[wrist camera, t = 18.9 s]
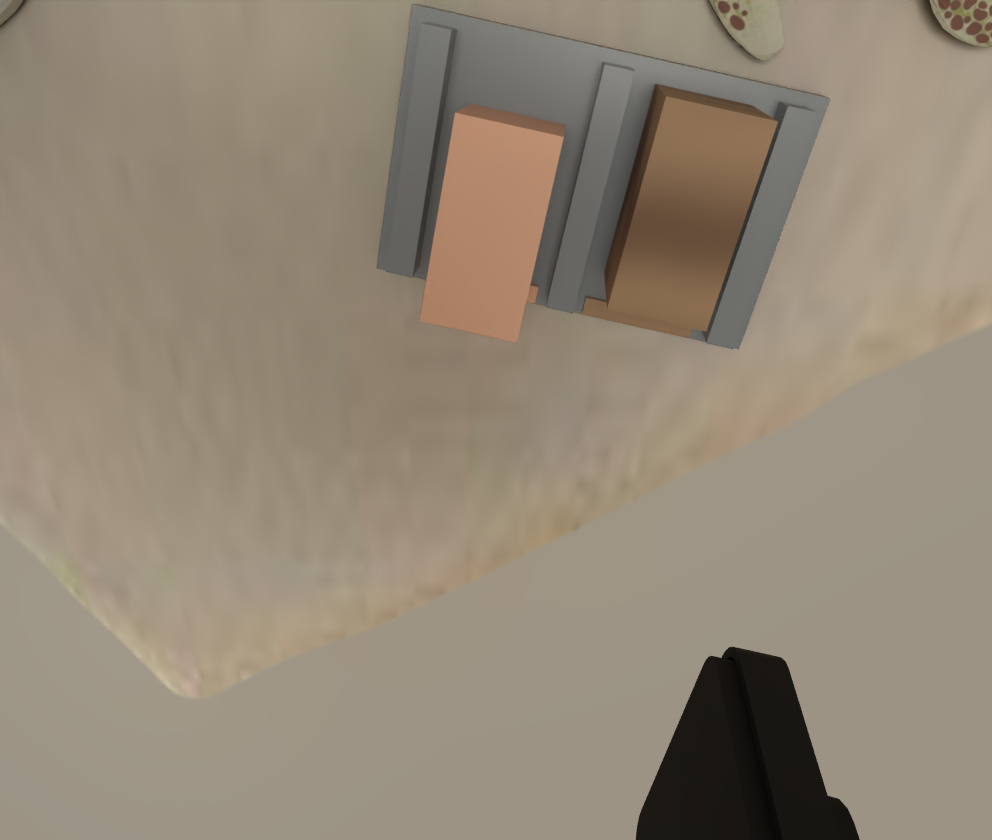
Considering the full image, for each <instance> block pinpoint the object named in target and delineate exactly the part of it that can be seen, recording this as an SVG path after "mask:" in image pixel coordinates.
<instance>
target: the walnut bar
mask: <svg viewBox="0 0 992 840" xmlns="http://www.w3.org/2000/svg"><path fill="white" fill-rule="evenodd" d="M777 123H778V121H777V120H775V119H773V118H772V117H770V116H769V115H767V114H765V113H764V112H762V111H761V110H759V109H757V108H756V107H754V106H753V105H749V104H744V103H740V102H735V101H731V100H727V99H722V98H718V97H713V96H709V95H704V94H700V93H695V92H691V91H687V90H682V89H678V88H673V87H669V86H664V85H660V84H656V83H655V86H654V90H653V94H652V97H651V101H650V105H649V108H648V112H647V116H646V120H645V123H644V127H643V131H642V134H641V138H640V142H639V145H638V149H637V153H636V157H635V160H634V164H633V168H632V171H631V175H630V179H629V183H628V186H627V190H626V194H625V197H624V201H623V205H622V208H621V212H620V216H619V220H618V223H617V227H616V231H615V234H614V238H613V242H612V245H611V249H610V253H609V257H608V260H607V264H606V268H605V271H604V276H605V289H606V303H607V310H612V311H616V312H621V313H625V314H630V315H634V316H638V317H643V318H647V319H652V320H656V321H661V322H665V323H670V324H674V325H679V326H683V327H688V328H692V329H697V330H701V331H705V332H706V331H707V328H708V325H709V322H710V319H711V316H712V313H713V311H714V308H715V305H716V302H717V299H718V296H719V293H720V290H721V287H722V284H723V281H724V278H725V275H726V273H727V270H728V267H729V264H730V261H731V258H732V255H733V252H734V249H735V246H736V243H737V240H738V237H739V235H740V232H741V229H742V226H743V223H744V220H745V217H746V214H747V211H748V208H749V205H750V202H751V199H752V197H753V194H754V191H755V188H756V185H757V182H758V179H759V176H760V173H761V170H762V167H763V164H764V161H765V159H766V156H767V153H768V150H769V147H770V144H771V141H772V138H773V135H774V132H775V129H776V126H777Z"/></svg>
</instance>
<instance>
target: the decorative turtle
mask: <svg viewBox="0 0 992 840" xmlns="http://www.w3.org/2000/svg"><path fill="white" fill-rule="evenodd" d="M709 1H710V3H711V5H712V7H713V9H714V10H715V12H716V14H717V15H718V17H719V19H720V21H721V22H722V24H723V25H724V26H725V28H726V29H727V31H728V32H729V33H730V35H731V36H732V37H733V38H734V39H735V40H736V41H737V42H738V43H739V44H740V45H741V46H743V48H744V49H745V50H747V51H748V52H749V53H750V54H752V55H753V56H755V57H756V58H758V59H760V60H769V59H770V58H771V57H773V56H774V55H775V54H777V53H778V52H779V51H781V50H782V49H783V46H784V38H783V30H782V24H781V18H780V12H779V7H778V1H777V0H709ZM930 3H931V8H932V11H933V13H934V14H935V16H936V18H937V19H938V21H939V23H940V24H941V26H942V27H943V29H945V30H946V31H947V32H948V33H950V34H951V35H952V36H954V37H955V38H957V39H959V40H961V41H963V42H965V43H968V44H971V45H974V46H981V47H989V46H992V0H930Z"/></svg>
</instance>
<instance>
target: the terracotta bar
mask: <svg viewBox="0 0 992 840" xmlns="http://www.w3.org/2000/svg"><path fill="white" fill-rule="evenodd" d="M564 131H565V124H560V123H556V122H551V121H547V120H542V119H538V118H533V117H529V116H525V115H520V114H516V113H511V112H507V111H502V110H498V109H493V108H489V107H485V106H480V105H476V104H469V105H467V106H466V107H464V108H462V109H461V110H459V111H457V112H455V116H454V122H453V128H452V134H451V140H450V146H449V151H448V157H447V163H446V169H445V175H444V181H443V186H442V192H441V198H440V204H439V210H438V216H437V221H436V227H435V233H434V239H433V245H432V251H431V256H430V262H429V268H428V274H427V280H426V286H425V291H424V297H423V303H422V309H421V315H420V320H419V321H422V322H426V323H431V324H435V325H440V326H444V327H449V328H453V329H458V330H462V331H467V332H471V333H476V334H480V335H485V336H489V337H494V338H498V339H502V340H507V341H511V342H516V343H517V341H518V336H519V332H520V328H521V323H522V319H523V314H524V310H525V306H526V301H527V297H528V292H529V288H530V284H531V279H532V275H533V270H534V266H535V262H536V257H537V253H538V248H539V244H540V240H541V235H542V231H543V226H544V222H545V218H546V213H547V209H548V204H549V200H550V196H551V191H552V187H553V183H554V178H555V174H556V169H557V165H558V161H559V156H560V152H561V147H562V143H563V139H564Z"/></svg>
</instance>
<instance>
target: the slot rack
mask: <svg viewBox="0 0 992 840" xmlns="http://www.w3.org/2000/svg"><path fill="white" fill-rule="evenodd" d="M655 83H656V84H660V85H664V86H669V87H673V88H678V89H682V90H687V91H691V92H695V93H700V94H704V95H709V96H713V97H718V98H722V99H727V100H731V101H735V102H740V103H744V104H749V105H753V106H754V107H756V108H757V109H759V110H761V111H762V112H764V113H765V114H767V115H769V116H770V117H772V118H773V119H775V120H777V121H778V123H777V126H776V129H775V132H774V135H773V138H772V141H771V144H770V147H769V150H768V153H767V156H766V159H765V161H764V164H763V167H762V170H761V173H760V176H759V179H758V182H757V185H756V188H755V191H754V194H753V197H752V199H751V202H750V205H749V208H748V211H747V214H746V217H745V220H744V223H743V226H742V229H741V232H740V235H739V237H738V240H737V243H736V246H735V249H734V252H733V255H732V258H731V261H730V264H729V267H728V270H727V273H726V275H725V278H724V281H723V284H722V287H721V290H720V293H719V296H718V299H717V302H716V305H715V308H714V311H713V313H712V316H711V319H710V322H709V325H708V328H707V331H706V332H705V331H701V330H697V329H692V328H688V327H683V326H679V325H674V324H670V323H665V322H661V321H656V320H652V319H647V318H643V317H638V316H634V315H630V314H625V313H621V312H616V311H612V310H607V303H606V289H605V276H604V271H605V268H606V264H607V260H608V257H609V253H610V249H611V245H612V242H613V238H614V234H615V231H616V227H617V223H618V220H619V216H620V212H621V208H622V205H623V201H624V197H625V194H626V190H627V186H628V183H629V179H630V175H631V171H632V168H633V164H634V160H635V157H636V153H637V149H638V145H639V142H640V138H641V134H642V131H643V127H644V123H645V120H646V116H647V112H648V108H649V105H650V101H651V97H652V94H653V90H654V86H655ZM829 101H830V98H828V97H825V96H822V95H817V94H813V93H808V92H804V91H799V90H795V89H791V88H786V87H782V86H777V85H773V84H768V83H764V82H759V81H755V80H751V79H746V78H742V77H737V76H733V75H728V74H724V73H720V72H715V71H711V70H706V69H702V68H697V67H693V66H689V65H684V64H680V63H675V62H671V61H666V60H662V59H658V58H653V57H649V56H644V55H640V54H635V53H631V52H627V51H622V50H618V49H613V48H609V47H604V46H600V45H595V44H591V43H587V42H582V41H578V40H573V39H569V38H564V37H560V36H556V35H551V34H547V33H542V32H538V31H533V30H529V29H525V28H520V27H516V26H511V25H507V24H502V23H498V22H494V21H489V20H485V19H480V18H476V17H471V16H467V15H462V14H458V13H454V12H449V11H445V10H440V9H436V8H431V7H427V6H423V5H418V4H413V5H412V12H411V19H410V27H409V34H408V41H407V49H406V56H405V64H404V71H403V78H402V86H401V93H400V100H399V108H398V115H397V122H396V130H395V137H394V145H393V152H392V159H391V167H390V174H389V181H388V189H387V196H386V203H385V211H384V218H383V226H382V233H381V240H380V248H379V255H378V262H377V268H378V269H382V270H386V272H390V273H395V274H399V275H404V276H408V277H413V276H414V277H418V278H423V279H427V274H428V268H429V262H430V256H431V251H432V245H433V239H434V233H435V227H436V221H437V216H438V210H439V204H440V198H441V192H442V186H443V181H444V175H445V169H446V163H447V157H448V151H449V146H450V140H451V134H452V128H453V122H454V116H455V112H457V111H459V110H461V109H462V108H464V107H466V106H467V105H469V104H476V105H480V106H485V107H489V108H493V109H498V110H502V111H507V112H511V113H516V114H520V115H525V116H529V117H533V118H538V119H542V120H547V121H551V122H556V123H560V124H565V131H564V139H563V143H562V147H561V152H560V156H559V161H558V165H557V169H556V174H555V178H554V183H553V187H552V191H551V196H550V200H549V204H548V209H547V213H546V218H545V222H544V226H543V231H542V235H541V240H540V244H539V248H538V253H537V257H536V262H535V266H534V270H533V275H532V279H531V284H530V288H529V292H528V297H527V301H526V302H530V303H534V304H539V305H543V306H546V307H547V308H552V309H556V310H560V311H565V312H569V313H573V312H575V313H579V314H583V315H588V316H592V317H597V318H601V319H606V320H610V321H615V322H619V323H623V324H628V325H632V326H637V327H641V328H646V329H650V330H655V331H659V332H664V333H668V334H673V335H677V336H682V337H686V338H691V339H695V340H700V341H704V342H706V343H708V344H713V345H717V346H722V347H726V348H730V349H733V348H736V349H739V347H740V344H741V342H742V339H743V336H744V334H745V331H746V328H747V325H748V323H749V320H750V317H751V314H752V312H753V309H754V306H755V303H756V301H757V298H758V295H759V293H760V290H761V287H762V284H763V282H764V279H765V276H766V273H767V271H768V268H769V265H770V262H771V260H772V257H773V254H774V251H775V249H776V246H777V243H778V241H779V238H780V235H781V232H782V230H783V227H784V224H785V221H786V219H787V216H788V213H789V210H790V208H791V205H792V202H793V199H794V197H795V194H796V191H797V189H798V186H799V183H800V180H801V178H802V175H803V172H804V169H805V167H806V164H807V161H808V158H809V156H810V153H811V150H812V148H813V145H814V142H815V139H816V137H817V134H818V131H819V128H820V126H821V123H822V120H823V117H824V115H825V112H826V109H827V106H828V104H829Z"/></svg>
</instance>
